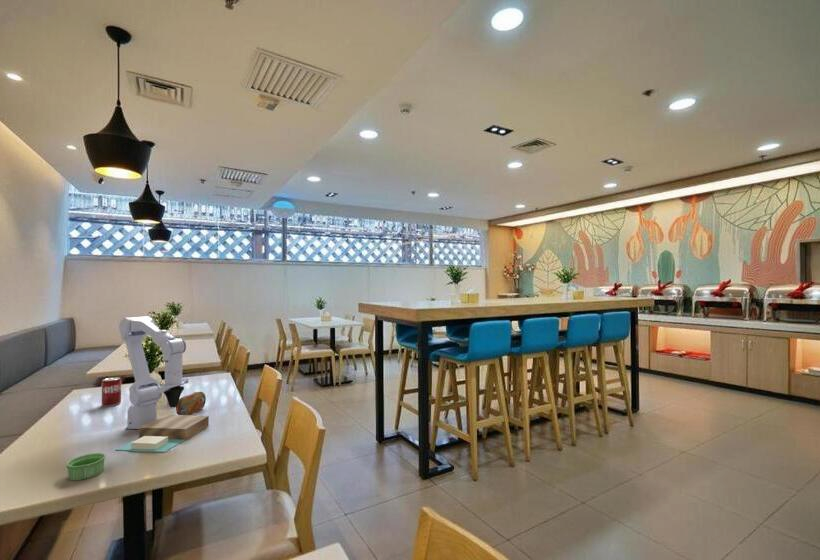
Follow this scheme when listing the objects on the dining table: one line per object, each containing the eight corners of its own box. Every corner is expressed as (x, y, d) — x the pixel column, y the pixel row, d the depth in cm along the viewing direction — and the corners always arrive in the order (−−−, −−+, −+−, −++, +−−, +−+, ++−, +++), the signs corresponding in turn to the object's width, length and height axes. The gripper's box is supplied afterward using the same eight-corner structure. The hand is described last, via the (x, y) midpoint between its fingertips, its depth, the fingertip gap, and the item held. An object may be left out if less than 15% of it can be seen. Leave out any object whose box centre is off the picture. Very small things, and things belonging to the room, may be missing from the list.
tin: (180, 419, 162) (180, 399, 162) (174, 418, 163) (174, 398, 163) (206, 408, 177) (206, 389, 177) (200, 407, 178) (200, 389, 178)
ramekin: (112, 466, 121) (112, 451, 121) (93, 480, 112) (93, 465, 112) (80, 468, 120) (80, 453, 120) (58, 483, 111) (58, 467, 111)
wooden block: (138, 438, 142) (138, 427, 142) (166, 424, 156) (166, 414, 156) (185, 440, 141) (185, 429, 141) (208, 425, 155) (208, 415, 155)
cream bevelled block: (144, 435, 139) (144, 441, 139) (131, 442, 133) (131, 448, 133) (168, 436, 138) (168, 442, 138) (155, 443, 132) (155, 449, 132)
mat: (115, 450, 132) (115, 449, 132) (138, 438, 142) (138, 437, 142) (164, 452, 130) (164, 451, 130) (184, 440, 140) (184, 439, 140)
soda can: (123, 403, 183) (124, 378, 183) (105, 407, 177) (105, 381, 177) (117, 401, 187) (117, 376, 187) (98, 405, 181) (99, 379, 181)
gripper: (170, 375, 140) (169, 413, 140) (195, 367, 155) (195, 401, 154) (151, 375, 141) (151, 412, 141) (179, 366, 155) (178, 400, 155)
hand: (173, 406), depth 148 cm, fingers closed
